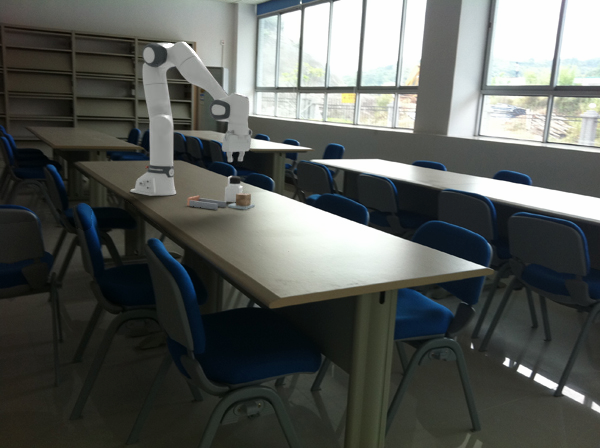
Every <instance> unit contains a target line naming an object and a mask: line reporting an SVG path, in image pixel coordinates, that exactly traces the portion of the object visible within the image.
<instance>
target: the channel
mask: <svg viewBox="0 0 600 448" xmlns="http://www.w3.org/2000/svg"><path fill="white" fill-rule="evenodd" d="M227 203H228V202H226V201H225V200H219V199H218V200H217V199H212V198H211V199H210V198H203V197H202V198H201V197H200V195H195V196H190V197H187V206H188V207H193V206H194V207H195V208H200V207H201V209H209V210H216V211H217V210H218V209H219V208H227V205H228V204H227ZM218 211H219V210H218Z"/></svg>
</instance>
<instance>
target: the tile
mask: <svg viewBox="0 0 600 448" xmlns="http://www.w3.org/2000/svg"><path fill="white" fill-rule="evenodd" d="M254 207H255V204H254V203H250V205H248V206H239V205H236V203H235V202H232V203H230V204H227V208H233V209H240V210H248V209H252V208H254Z"/></svg>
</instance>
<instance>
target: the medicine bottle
mask: <svg viewBox="0 0 600 448" xmlns="http://www.w3.org/2000/svg"><path fill="white" fill-rule="evenodd" d="M241 182H242V181H241V177H240V176H236V175H230V176H228V177H227V186H225V187H224V201H226V202H227V203H235V202H236V194H238V193H244V192H243V190H244V188H243V185H241Z"/></svg>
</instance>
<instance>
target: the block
mask: <svg viewBox="0 0 600 448" xmlns="http://www.w3.org/2000/svg"><path fill="white" fill-rule="evenodd" d="M251 195H252V194H251V193H246V192H242V193H238V194H236V205H239V206H248V205H250V204H252V203H251V202H252V201H251V200H252V198H251V197H252V196H251Z"/></svg>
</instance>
